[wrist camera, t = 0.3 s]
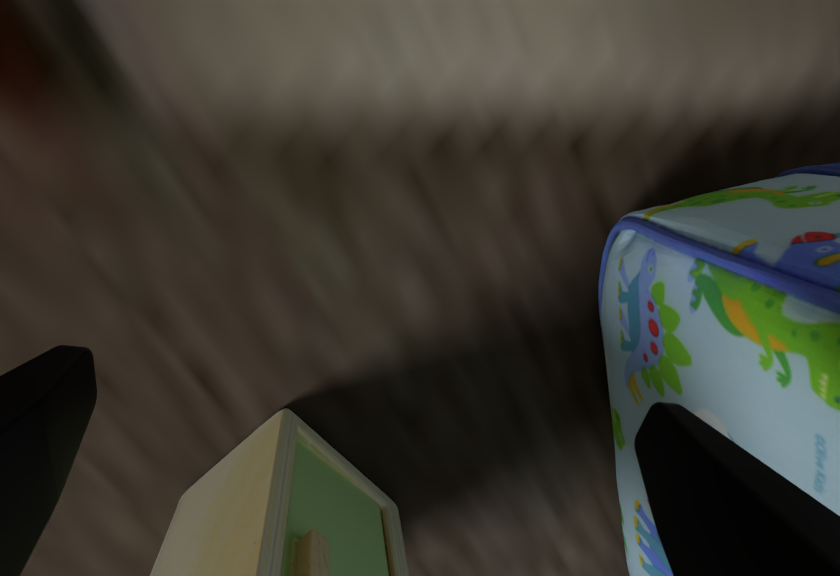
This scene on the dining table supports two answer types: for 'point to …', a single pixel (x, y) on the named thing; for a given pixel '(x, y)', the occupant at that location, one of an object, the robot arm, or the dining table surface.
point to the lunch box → (728, 332)
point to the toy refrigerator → (283, 513)
